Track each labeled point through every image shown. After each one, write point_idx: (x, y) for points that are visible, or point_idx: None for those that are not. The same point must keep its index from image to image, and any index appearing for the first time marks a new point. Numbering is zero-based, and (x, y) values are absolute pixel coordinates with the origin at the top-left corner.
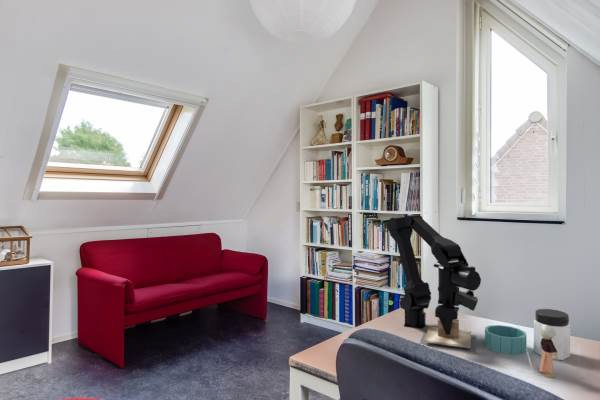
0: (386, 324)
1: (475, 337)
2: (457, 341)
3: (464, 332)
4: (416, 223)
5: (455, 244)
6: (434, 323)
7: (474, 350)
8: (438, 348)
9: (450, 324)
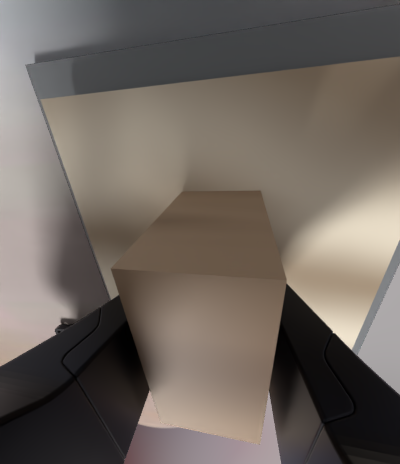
0: (144, 407)
1: (76, 64)
2: (333, 193)
3: (94, 155)
4: None
5: None
6: (25, 293)
7: None
8: (385, 286)
9: (346, 358)
